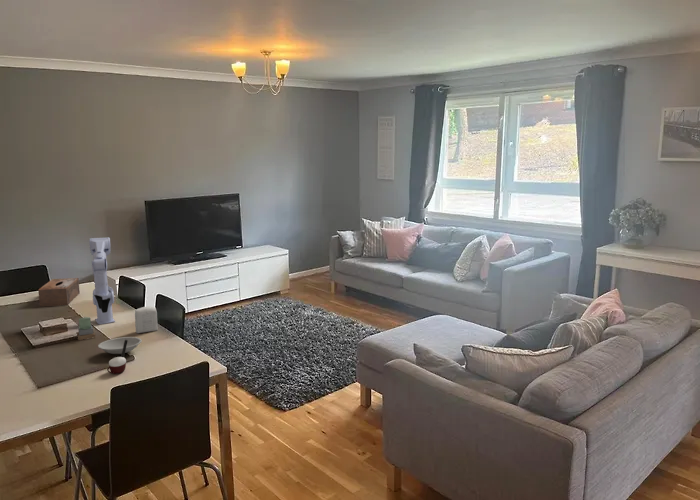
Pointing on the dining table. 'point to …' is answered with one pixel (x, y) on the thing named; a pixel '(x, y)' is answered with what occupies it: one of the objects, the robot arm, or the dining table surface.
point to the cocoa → (118, 362)
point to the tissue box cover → (59, 292)
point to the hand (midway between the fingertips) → (103, 310)
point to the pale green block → (85, 323)
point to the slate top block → (86, 331)
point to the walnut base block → (85, 336)
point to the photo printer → (145, 319)
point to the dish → (119, 344)
